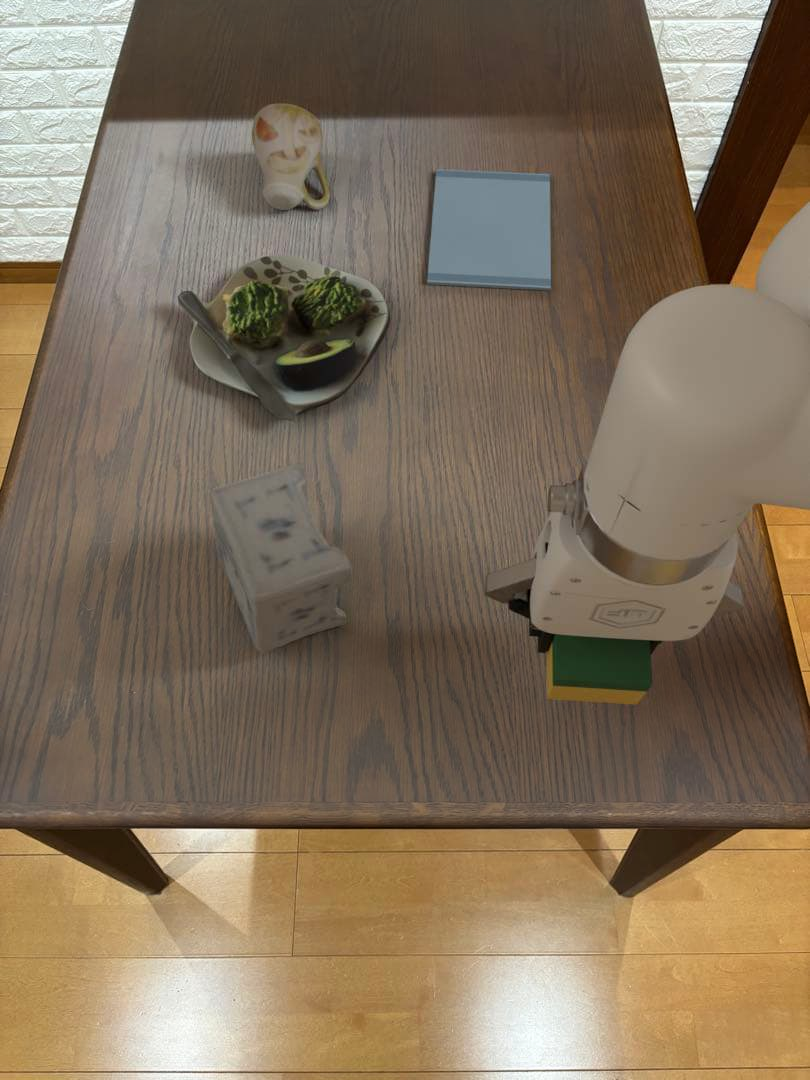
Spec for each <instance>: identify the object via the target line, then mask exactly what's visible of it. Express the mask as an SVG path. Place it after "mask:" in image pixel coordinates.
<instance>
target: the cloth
mask: <svg viewBox="0 0 810 1080" xmlns="http://www.w3.org/2000/svg"><path fill="white" fill-rule="evenodd" d="M434 180H435V181H434V190H433V191H434V193H433V202H432V203H433V204H432V215H431V229H430V241H429V252H428V264H427V274H426V275H427V277H426V285H428V286H429V285H431V286H447V287H448V286H451V287H467V288H468V287H469V288H486V289H489V288H490V289H507V290H508V289H510V290H529V291H546V292H547V291H549V292H551V289H552V272H551V271H552V270H551V269H552V267H551V266H552V265H551V264H552V263H551V261H552V257H551V256H552V255H551V253H552V252H551V251H552V250H551V249H552V248H551V174H550V173H529V172H512V171H511V172H509V171H489V170H486V171H485V170H466V169H465V170H464V169H441V168H436V170H435V179H434Z"/></svg>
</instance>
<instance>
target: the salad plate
mask: <svg viewBox="0 0 810 1080" xmlns="http://www.w3.org/2000/svg"><path fill="white" fill-rule="evenodd" d="M177 302H178V304H179V307H181V309H183V311H185V313H186V314H187V315H188V317H189V318H190V319H191V321H192V324H193V325H192V326H193V327H192V330H191V334H190V337H189V347H190V352H191V355H192V358H193V361H194V364H195V365H196V367H197V368H198V369H199V370H200V371H201V372H202V373H203V374H204V375H205V376H208V377H210V378H211V379H213V380H214V381H216V382H218V383H220V384H222V385H225V386H226V387H229V388H232V389H235V390H238V391H241V392H242V393H245V394H247V395H251V396H254V397H256V398H257V399H259V402H260V403H261V404H262V405H263V406H264V407H265V408H266V409H267V410H268V411H269V412H270V413H271V414H273V415H274V416H276V417H277V418H278V419H279V420H282V421H291V422H292V421H293V422H296V419H297V416H298V414H299V413H301V412H303V411H306V410H311V409H314V408H318V407H322V406H325V405H327V404H330V403H332V402H334V401H336V400H338V399H339V398H341V397H342V396H343V395H344V394H345V393H346V392H347V391H348V390H349V389H350V388H351V387H352V386H353V385H354V383H355V382H356V381H357V380H358V378H360V377H361V375H362V374H363V372H364V370H365V369H366V367H367V366H368V364H369V363H370V361H371V360H372V359H373V357H374V355H375V354H376V351H377V350H378V348H379V347H380V345H381V344H382V342H383V340H384V339H385V336H386V333H387V331H388V329H389V327H390V324H391V313H390V308H389V307H388V303H387V301H386V299H385V297H384V296H383V294H382V292H381V291H380V289H379V288H378V287H377V286H376V285H375V284H374V283H373V282H371V281H368V280H367V279H365V278H363V277H360V276H357V275H354V274H352V273H349V272H345V271H342V270H340V269H335V268H331V267H330V266H327V265H323V264H320V263H318V262H315V261H314V260H309V259H306V258H303V257H301V256H296V255H294V254H289V253H271V254H266V255H262V256H259V257H256V258H253V259H250V260H248V261H247V262H246V261H245V263H243V264H241V265H240V266H239V267H238V268H237V269H236V270H235V271H234V272H233V274H231V276H230V277H229V279H228V280H227V282H226V283H225V284H224V285H223V287H222V288H221V290H220V291H219V293H218V294H217V295H216V296H215V297H214V299H212V300H210V301H208V302H205V301H203V300H202V299H200V298H199V296H198V295H197V294H196V293H195V292H194V291H191V290H184V291H182V292H181V293H180V294H178V296H177Z"/></svg>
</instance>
